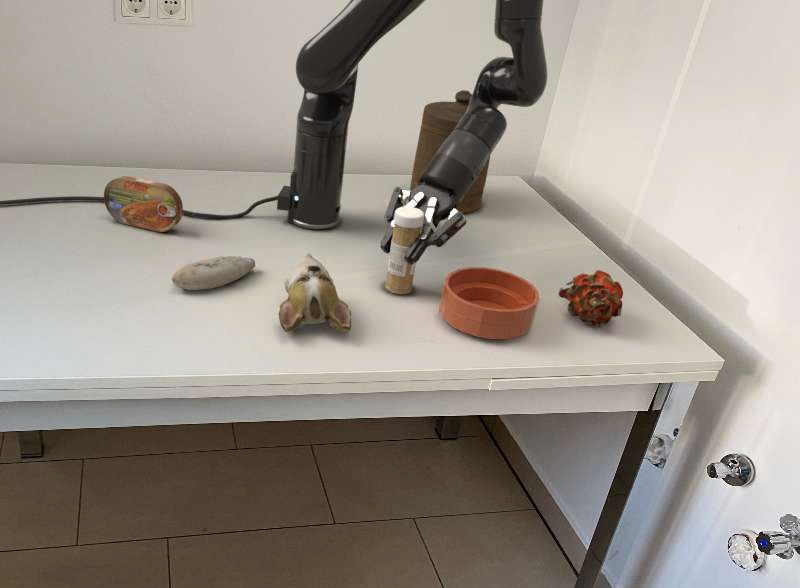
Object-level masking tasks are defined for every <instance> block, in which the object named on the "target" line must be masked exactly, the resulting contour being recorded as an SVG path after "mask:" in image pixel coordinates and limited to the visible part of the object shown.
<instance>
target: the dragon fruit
mask: <svg viewBox="0 0 800 588" xmlns="http://www.w3.org/2000/svg"><path fill="white" fill-rule="evenodd" d="M569 285H571V286H570V287H566V288H564V287H560V289H559V291H558V296H559V297H560V298H561V299H565V300H566V301H568V302H569V303H568V305H567V312H568V313H570V314H571V316H572V317H578V318H579V320H580V321H581V322H583V323H585V324H587V325H590V326H595V325H598V326H604V325H607V324H609V322H610V321H611V320H612V318H616V317H622V308H623V300H622V299H623V296H624V290H623V287H622V285H621V284H620V282H619V281H615V280H614V279H613V278H612V276H611V275H610V274H609V273H607V272H606V271H603V270H600V269H597V270H595V272H594V273H593V274H587V273H580V274H577V275H576V276H574V277H572V280H570V281H569V282H566V283H565V286H569Z"/></svg>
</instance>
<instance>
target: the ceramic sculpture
mask: <svg viewBox="0 0 800 588" xmlns="http://www.w3.org/2000/svg"><path fill="white" fill-rule="evenodd" d="M284 289H285V291H286V293H287V298H286V299H285V300H284V301H283V302H282V303H281V304H280V305H279V311H278V319H279V323H280V327H281V329H282V330H283V331H284V332H285V333H290V332H293V331H295V330H296V329H298V328H300V327H301V326H302V323H303V324H309V325H310V324H311V325H318V324H319V325H320V324H323V323H326V322H328V321H329V324H330V326H331V327H332V328H334V329H335V330H338V331H341V332H346V333H351V331H352V312H351V310H350V309H349V305H348V304H347V303H346V302H345V301H343V300H342V299H340V298H339V296H338V292H337V288H336V285H335V283H334V280H333V278H332V277H331V276H330V273H329V272H328V269H327V268H325V266H324V265H323V263H322V262H320V261H318V260H317V258H315V257H313V256H312V254H311V253H310V252H309V253H306V254H305V255H304V257H303V258H302V259H301V260H299V261H298V262H297V263H296V264H295V265H294V266H293V267H292V269H291V270H290V272H289V273H288V275H287V277H286V278H285V279H284Z"/></svg>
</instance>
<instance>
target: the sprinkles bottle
mask: <svg viewBox="0 0 800 588" xmlns="http://www.w3.org/2000/svg"><path fill="white" fill-rule="evenodd" d="M423 222H424V212H423V211H421V210H420V209H417V208H413V207H405V206H403V207H400V208H398V209H396V211H395V215H394V230H393V237H392V241H391V248H390V253H389V255H388V256H389V257H388V261H387V262H388V263H387V273H386V280H385V283H384V288H385V290H386V291H388V292H389V293H392V294H395V295H406V294H409V293H410V292H412V290H413V282H414V276H415V275H414V274H415V272H416V266H417V262H416V263H415V262H414V263H413V264H412V265H411V264H409V263H407V262H406V260H405V259H404V257H405V255H406V253H407V252H408V250H409V249H410V247H411V246H412V244H413V243H414V241H415V240H416V238H418V239H419V238H420V233H421V230H422V228H423Z"/></svg>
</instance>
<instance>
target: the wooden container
mask: <svg viewBox="0 0 800 588" xmlns="http://www.w3.org/2000/svg"><path fill="white" fill-rule="evenodd" d="M472 94H473V93H471V91H469V90H464V89H463V90H459V91H456V93H455V96H454V99H455V101H435V102H431V103H427V104H426V105H424V108H423V112H422V118H421V124H420V129H419V136H418V139H417V145H416V150H415V155H414V160H413V161H414V162H413V165H412V166H413V168H412V173H411V181H410V186H409V191H411V189H412V188H414V187H415V186H416V185H417V184H418V183H419V181H420V178H421V175H422V174H423V172H424V171H425V169H426V168H427V166H428V165H429V163H430V162H431V160H432V159H433V157H434V156H435V154H436V153H437V151H438V150H439V148H440V147H441V145H442V144H443V143H444V141H445V140H446V139H447V138H448V137H449V135H450V134H451V133H452V132H453V130H454V129H455V127H456V126H457V124H458V123H459V121H460V120H461V118H462V117H463V116H464V114H465V113H466V111H467V108H468V106H469V102H470V99H471V96H472ZM491 155H492V153H491V154H490V156H489V158H488V160H487V162H486V164H485V166H484V168H483V169H482V171H481V172H480V174H479V176H478V177H477V178H476V180H475V181H474V183H473V184H472V186H471V187H470V189H469V190H468V192H467V193H466V195H465V196H464V198H463V199H462V201H461V202H460V203H458V204H457V211H460V212H462V214H468V213H471V212H475V211H476V210H478V209H480V207H481V206H482V205H481V204H482V201H483V200H482V199H483V195H484V190H485V187H486V181H487V177H488V173H489V165H490V160H491Z"/></svg>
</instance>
